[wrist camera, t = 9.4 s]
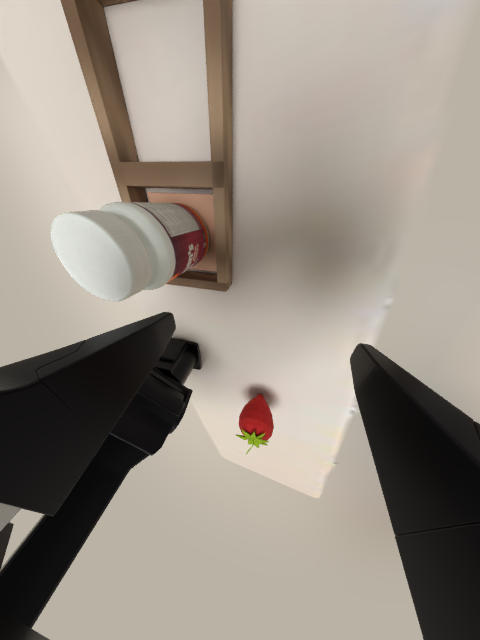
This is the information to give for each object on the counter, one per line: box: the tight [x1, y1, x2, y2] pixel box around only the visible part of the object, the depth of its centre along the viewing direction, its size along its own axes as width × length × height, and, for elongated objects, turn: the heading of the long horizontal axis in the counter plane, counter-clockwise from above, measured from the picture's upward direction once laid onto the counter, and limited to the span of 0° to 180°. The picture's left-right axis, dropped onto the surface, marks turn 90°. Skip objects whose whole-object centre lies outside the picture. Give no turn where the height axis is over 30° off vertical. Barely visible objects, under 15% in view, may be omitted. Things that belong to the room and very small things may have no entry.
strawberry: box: [236, 394, 274, 454], centre depth 29 cm, size 6×8×10 cm
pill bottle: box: [51, 202, 209, 301], centre depth 15 cm, size 6×6×11 cm
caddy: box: [61, 0, 232, 292], centre depth 15 cm, size 20×10×2 cm, turn 178°
